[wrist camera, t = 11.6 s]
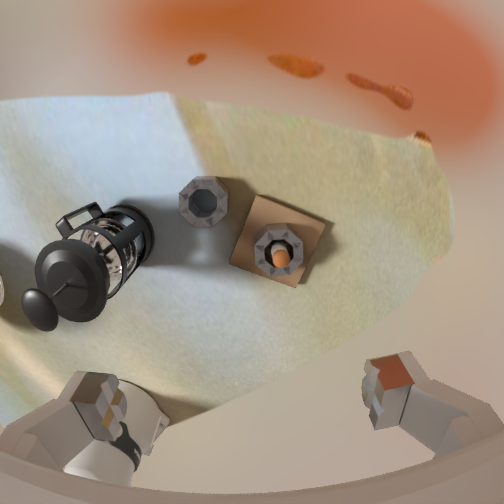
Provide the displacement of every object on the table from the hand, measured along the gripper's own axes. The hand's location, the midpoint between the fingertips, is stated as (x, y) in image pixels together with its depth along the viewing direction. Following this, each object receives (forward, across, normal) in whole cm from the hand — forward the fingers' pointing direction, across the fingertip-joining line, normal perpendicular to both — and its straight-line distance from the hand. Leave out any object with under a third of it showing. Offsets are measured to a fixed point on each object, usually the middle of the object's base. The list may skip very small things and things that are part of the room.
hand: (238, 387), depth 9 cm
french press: (+35, +18, +3) cm, 40 cm away
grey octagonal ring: (+35, +5, 0) cm, 36 cm away
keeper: (+35, -4, +6) cm, 36 cm away
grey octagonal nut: (+34, -3, +6) cm, 34 cm away
